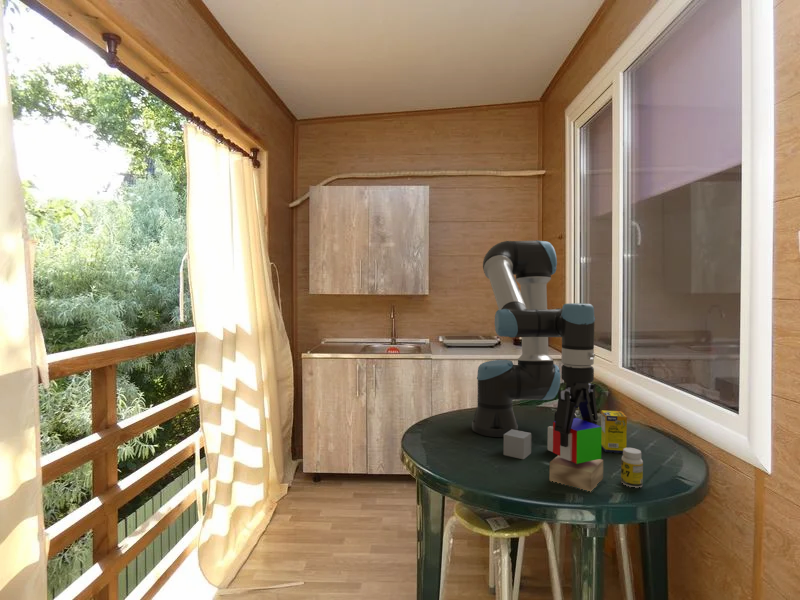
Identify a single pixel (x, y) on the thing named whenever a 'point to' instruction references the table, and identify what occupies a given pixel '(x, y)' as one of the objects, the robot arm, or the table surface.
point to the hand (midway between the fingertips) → (576, 454)
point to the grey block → (517, 444)
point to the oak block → (576, 473)
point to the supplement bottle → (632, 468)
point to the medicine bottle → (550, 435)
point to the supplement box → (613, 431)
